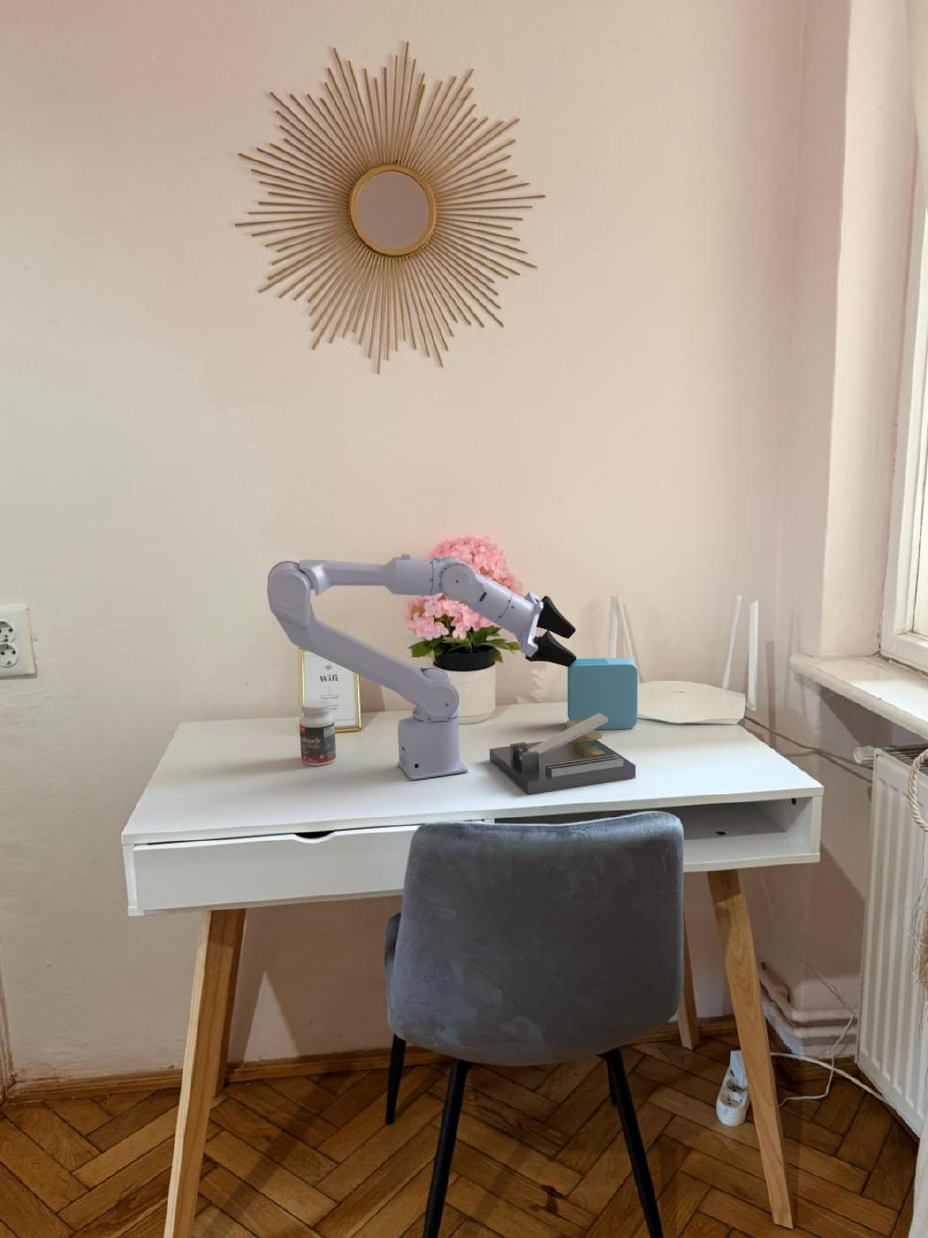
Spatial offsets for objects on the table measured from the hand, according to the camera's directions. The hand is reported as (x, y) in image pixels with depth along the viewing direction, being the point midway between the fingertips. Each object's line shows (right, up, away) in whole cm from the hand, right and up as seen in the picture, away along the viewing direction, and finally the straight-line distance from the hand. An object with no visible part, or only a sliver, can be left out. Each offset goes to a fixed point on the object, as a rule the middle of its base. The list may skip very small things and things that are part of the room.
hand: (572, 647), depth 161 cm
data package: (+7, -15, +19) cm, 25 cm away
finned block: (-2, -19, -2) cm, 19 cm away
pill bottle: (-41, -19, +5) cm, 46 cm away
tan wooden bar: (-2, -15, -5) cm, 15 cm away
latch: (+2, -16, +3) cm, 16 cm away
